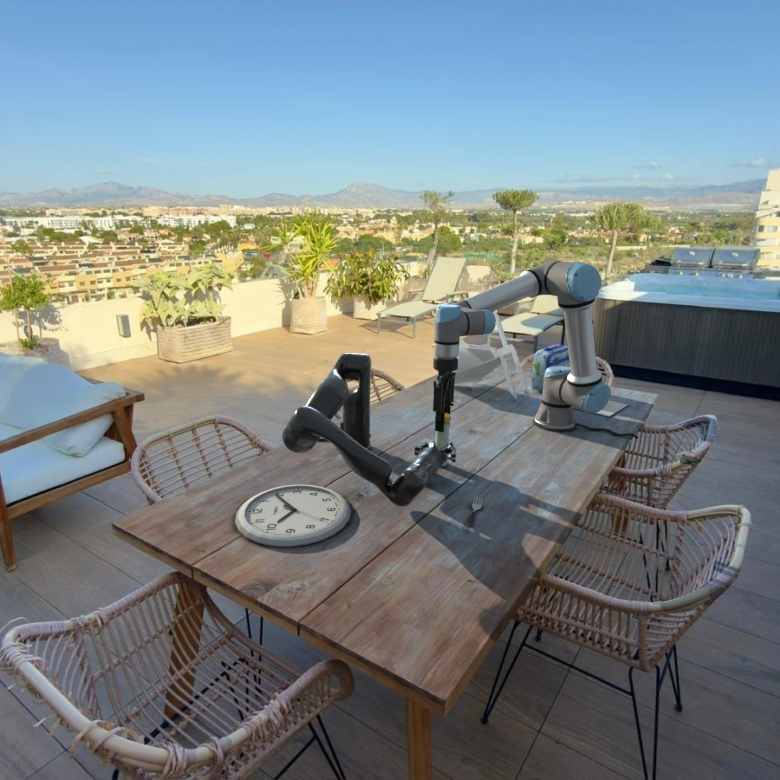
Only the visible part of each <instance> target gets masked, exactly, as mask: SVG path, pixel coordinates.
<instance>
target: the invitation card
mask: <svg viewBox="0 0 780 780" xmlns="http://www.w3.org/2000/svg"><path fill="white" fill-rule="evenodd" d="M628 406H629V404H627V403H623V402H618V401H614V400H610V399H609V401H608V403H607V404H606V406H605V407H604V408H603V409H602V410H600V411H599V412H597V413H595V414H596V415H600V416H604V417H608V418H609V417H611V416H613V415H614V414H616V413H617V412H619V411H621V410H623V409H624V408H626V407H628ZM573 409H575V410H578V409H577V408H575V407H573Z"/></svg>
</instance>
